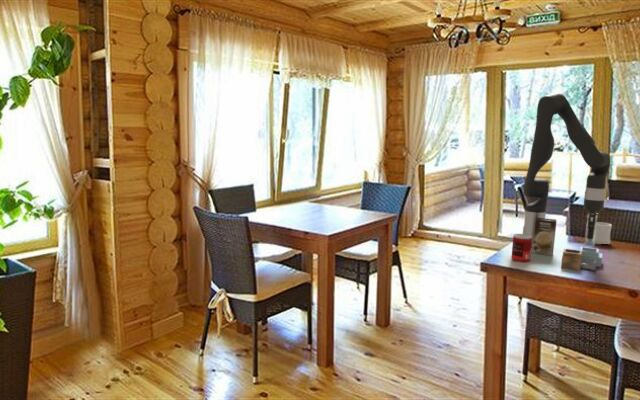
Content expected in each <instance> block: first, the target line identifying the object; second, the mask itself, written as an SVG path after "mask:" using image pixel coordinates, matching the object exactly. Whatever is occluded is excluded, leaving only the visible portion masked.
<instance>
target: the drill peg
mask: <svg viewBox="0 0 640 400" xmlns="http://www.w3.org/2000/svg"><path fill="white" fill-rule="evenodd" d="M597 222H598V221H597ZM597 222H596V225H595V227H594V228H595V230H594V234H593V239H588V238H587V234H588V229H587V227H588V224H587V223H586V225H585V226H586V227H585V238H584V245H585V246H590V247H593V246H595V245H596V244H595V237H596V227H597ZM589 226H590V227H593V225H589Z"/></svg>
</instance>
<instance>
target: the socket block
mask: <svg viewBox="0 0 640 400" xmlns="http://www.w3.org/2000/svg"><path fill="white" fill-rule="evenodd" d="M581 260H582V251H581V250H580V249H579V250H578V249H571V248H565V247H564V248H563V251H562V257H561V263H560V267H561V269H565V270H566V269H567V270H573V271H578V272H579V271H581V268H580V266H581Z"/></svg>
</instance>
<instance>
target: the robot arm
mask: <svg viewBox="0 0 640 400" xmlns="http://www.w3.org/2000/svg"><path fill="white" fill-rule="evenodd" d="M554 115H558V116H559V117H560V118H561V119H562V121H563V122H564V124H565V127H566V132H567V135H568V138H569V140H570V141H571V142H572V144H573V145H574V146H575V147H576V149H578V151H579V153H580V155H581V157H582V158H583V160H584V162H585V164H586V165H587V166H588V167H590V168H591V169H590V172H589V174H588V175H587V178H586V186H585V191H584V196H583V197H584V198H583V199H584V200H583V209H585V210H587V211H589V212H587V215H586V218H587V221H586V225H587V224H588V227H587V229H588V234H587V238H588V239H593V234H594V230H595V228H594V227H595V225H596V222H598V219H599V218H598V217H599V213H597V211H598V212H599V211H603V210H604V207H605V196H606V190H605V189H606V178H607V175H608V173H609V169H610V166H611V165H610V163H611V157H610V154H608V153H607V152H605V151H603V150H602V151H600V150H599V149H598V148H597V146H596V142H595V139H594V138H593V137H592V136H591V135H590V133H589V132H588V131H587V130H586V129H585V127H584V126H583V125H582V123H581V121H580V120H579V118H578V117H577V114H576V112H575V111H574V109H573V107H572V106H571V104H570V102H569V100H568V99H567V97H566V96H565V95H564V94H563V93H560V92H554V93H550V94H547V95H544V96H541V98H540V99H539V100H538V103H537V109H536V121H535V129H534V135H533V136H534V137H533V141H532V146H531V151H530V158H529V163H528V168H527V172H526V176H525V181H524V185H523V195H524V196H525V197H527V198H537V199H536V200H535V201H533V202H531V203H527V204H526V205H525V211H524V221H523V222H524V224H523V226H522V234H527V235H530V236H532V244H531V248H532V246H533V238H534V228H535V220H536V217H537V218H546V214H547V213H546V211H547V205H548V198H549V197H548V196H549V189H550V184H549V180H548V179H547V178H536V177H537V174H538V173H539V171H540V170H541V169H542V168H543V167H544V166H545V165H546V164H547V163H548V162H549V161H550V160H551V158H552V156H553V153H554V149H555V138H554V136H553V132H552V127H551V126H552V122H553V118H554ZM589 225H593V227H590V226H589Z"/></svg>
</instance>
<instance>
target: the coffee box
mask: <svg viewBox="0 0 640 400" xmlns="http://www.w3.org/2000/svg"><path fill="white" fill-rule="evenodd" d="M556 228H557V219H555V218H546V217H545V218H537V217H536V220H535V228H534V238H533V246H532V247H531V253H532V254H537V255H545V256H554V249H555V248H554V247H555V239H556V230H557V229H556Z"/></svg>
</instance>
